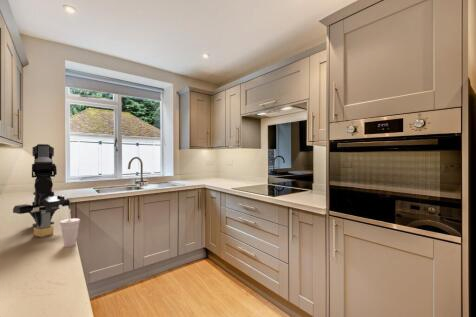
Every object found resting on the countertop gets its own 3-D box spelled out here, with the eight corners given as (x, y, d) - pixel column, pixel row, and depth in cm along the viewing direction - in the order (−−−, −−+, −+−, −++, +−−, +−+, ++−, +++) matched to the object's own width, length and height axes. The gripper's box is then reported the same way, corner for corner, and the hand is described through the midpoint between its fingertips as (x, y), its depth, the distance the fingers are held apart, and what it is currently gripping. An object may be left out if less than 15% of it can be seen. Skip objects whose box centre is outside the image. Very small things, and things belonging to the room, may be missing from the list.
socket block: (33, 236, 99) (33, 228, 99) (46, 232, 104) (46, 225, 104) (41, 237, 97) (41, 229, 97) (53, 234, 101) (53, 226, 101)
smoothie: (77, 240, 94) (77, 206, 94) (82, 244, 90) (82, 209, 90) (57, 245, 89) (57, 209, 89) (62, 249, 85) (62, 212, 85)
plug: (37, 231, 100) (36, 212, 100) (45, 229, 103) (45, 211, 103) (42, 232, 98) (42, 213, 98) (50, 230, 101) (50, 212, 101)
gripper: (27, 194, 89) (27, 234, 89) (77, 188, 106) (77, 221, 106) (12, 192, 93) (12, 230, 93) (62, 186, 110) (62, 219, 110)
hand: (43, 225), depth 100 cm, fingers closed on plug, 3 cm apart
